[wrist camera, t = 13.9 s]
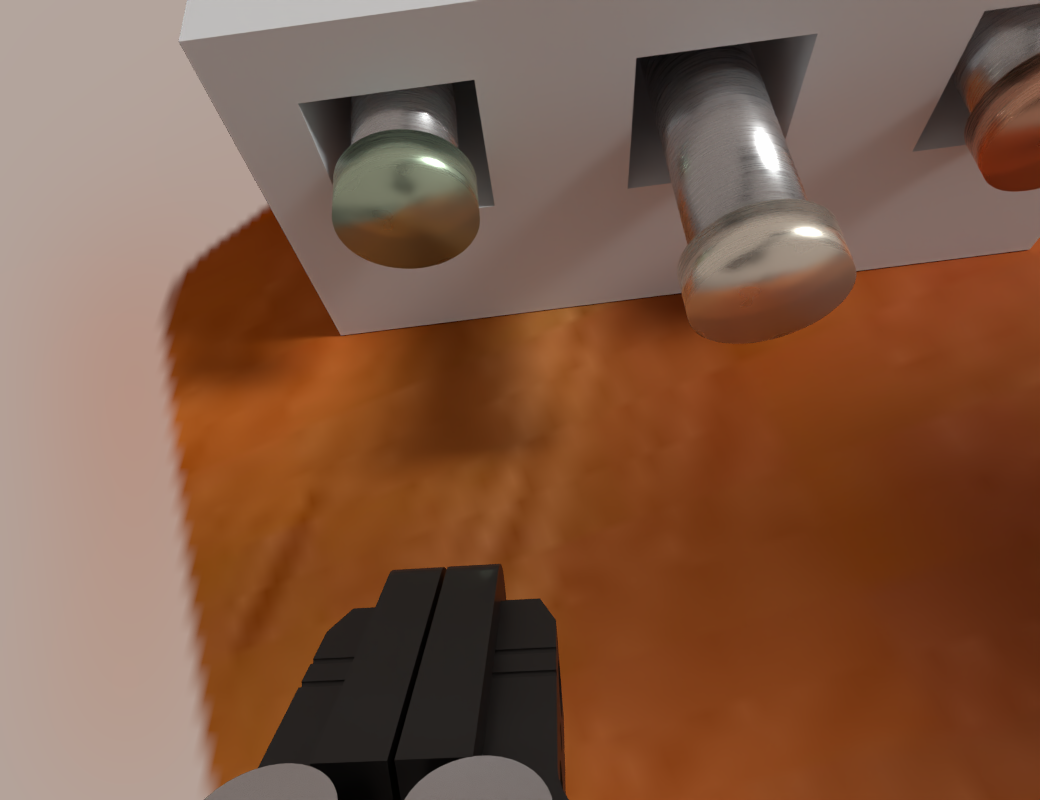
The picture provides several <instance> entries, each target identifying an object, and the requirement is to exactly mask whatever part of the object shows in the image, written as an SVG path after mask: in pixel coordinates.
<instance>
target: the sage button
mask: <svg viewBox="0 0 1040 800" xmlns="http://www.w3.org/2000/svg"><path fill="white" fill-rule="evenodd" d="M332 223H333V227H334V230H335V232H336V234H337V236H338V237H339V239H340V240H341V241H342V243H343V244H344V245H345V246H346V247H347V248H348V249H350V250H351V251H352V252H354V253H355V254H356V255H358V256H360V257H362V258H363V259H366V260H368V261H370V262H373V263H376V264H379V265H383V266H386V267H392V268H402V269H415V268H425V267H430V266H434V265H438V264H441V263H444V262H446V261H448V260H450V259H453V258H454V257H456V256H458V255H459V254H461V253H462V252H463V251H464V250H466V249H467V248H468V246H469V245H470V244H471V243H472V242H473V240H474V239H475V237H476V235H477V233H478V230H479V226H480V212H479V201H478V189H477V178H476V174H475V170H474V168H473V166H472V164H471V162H470V161H469V159H468V158H467V156H466V155H465V154H464V153H463V152H462V151H461V150H460V149H459V145H458V131H457V118H456V104H455V91H454V83H447V84H439V85H432V86H424V87H417V88H410V89H402V90H395V91H387V92H380V93H373V94H365V95H358V96H352V111H351V146H350V147H348V148H347V149H346V150H345V152H344V153H343V154H342V155H341V157H340V158H339V160H338V162H337V164H336V166H335V170H334V174H333V197H332Z"/></svg>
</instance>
